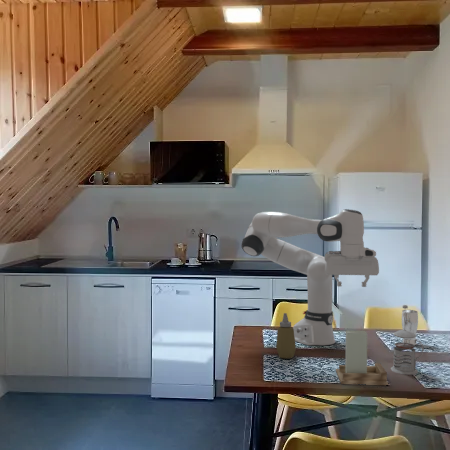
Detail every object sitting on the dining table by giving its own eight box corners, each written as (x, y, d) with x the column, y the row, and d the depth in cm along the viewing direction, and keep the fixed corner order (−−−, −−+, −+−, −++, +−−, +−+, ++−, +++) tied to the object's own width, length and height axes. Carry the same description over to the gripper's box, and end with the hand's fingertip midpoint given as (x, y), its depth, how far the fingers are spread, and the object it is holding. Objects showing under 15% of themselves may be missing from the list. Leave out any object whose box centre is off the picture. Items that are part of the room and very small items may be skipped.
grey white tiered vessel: (393, 364, 188) (394, 301, 188) (424, 369, 183) (425, 304, 182) (388, 371, 180) (389, 305, 179) (421, 377, 174) (422, 309, 173)
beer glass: (415, 342, 220) (415, 309, 220) (419, 346, 213) (420, 313, 213) (399, 341, 221) (400, 309, 221) (403, 345, 214) (404, 312, 214)
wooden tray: (341, 383, 167) (341, 372, 167) (335, 371, 180) (335, 360, 180) (387, 385, 166) (388, 374, 165) (379, 372, 179) (379, 362, 178)
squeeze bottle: (296, 354, 200) (295, 311, 200) (295, 360, 192) (294, 315, 192) (277, 354, 202) (276, 311, 202) (275, 359, 194) (274, 315, 194)
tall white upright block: (346, 377, 171) (347, 332, 171) (345, 373, 175) (345, 330, 174) (366, 377, 170) (367, 333, 170) (364, 374, 174) (365, 330, 173)
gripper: (325, 251, 183) (325, 287, 184) (380, 252, 181) (379, 288, 182) (323, 250, 190) (323, 284, 190) (376, 250, 188) (376, 285, 188)
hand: (351, 286), depth 186 cm, fingers open, 8 cm apart
